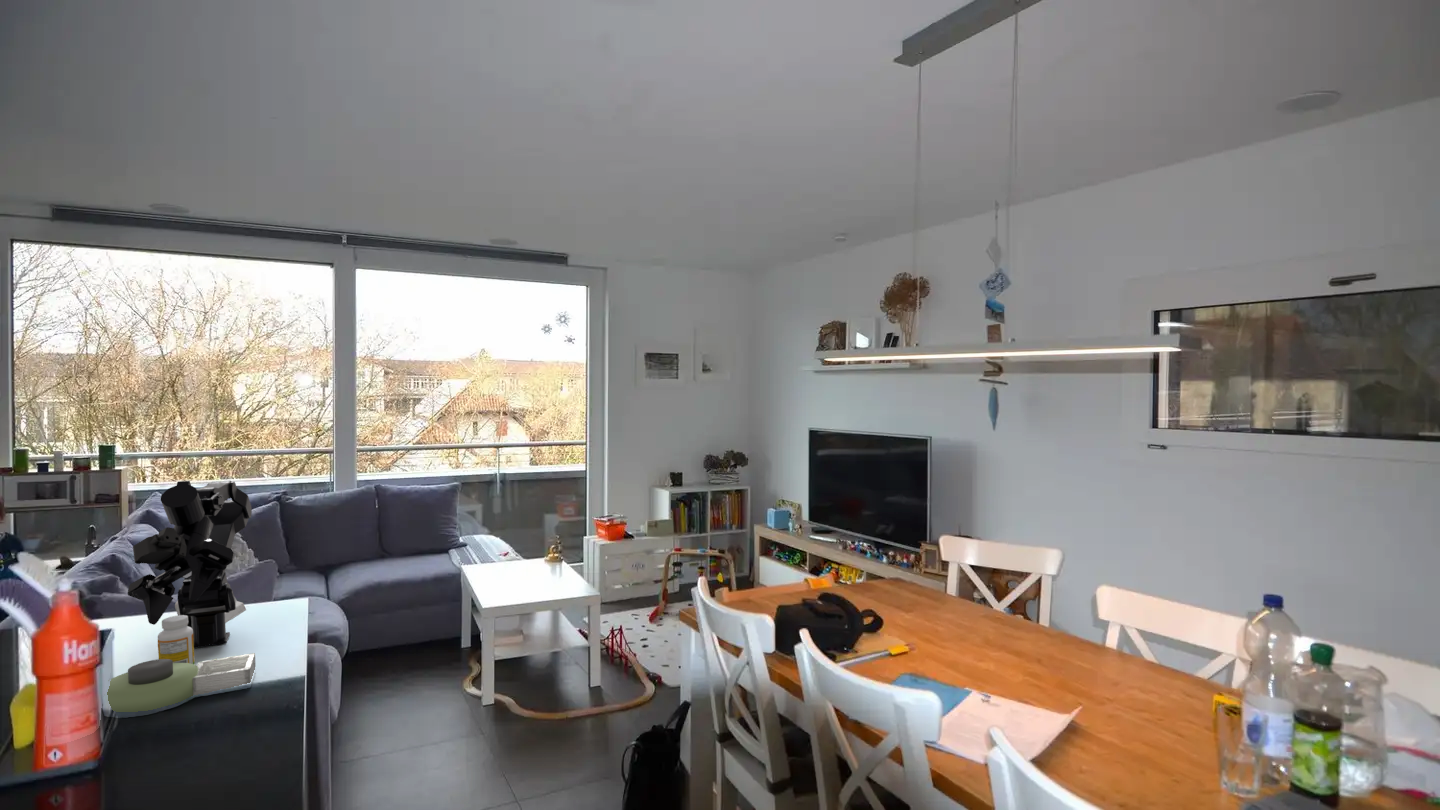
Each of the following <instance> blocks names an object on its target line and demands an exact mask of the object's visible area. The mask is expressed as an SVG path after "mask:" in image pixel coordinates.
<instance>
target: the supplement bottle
mask: <svg viewBox="0 0 1440 810" xmlns="http://www.w3.org/2000/svg"><path fill="white" fill-rule="evenodd" d="M187 624H188V616H186V615H178V614H177V615H173V616H169V617H165V618H162V620H161V629H163V630H161V631H160V632H159V633H158V634H157V652H158V659H170V660H172V661H173V663H190V664H194V665H196V663H195V648H194V638H193V629H192V628H191V627H189V626H187Z"/></svg>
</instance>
